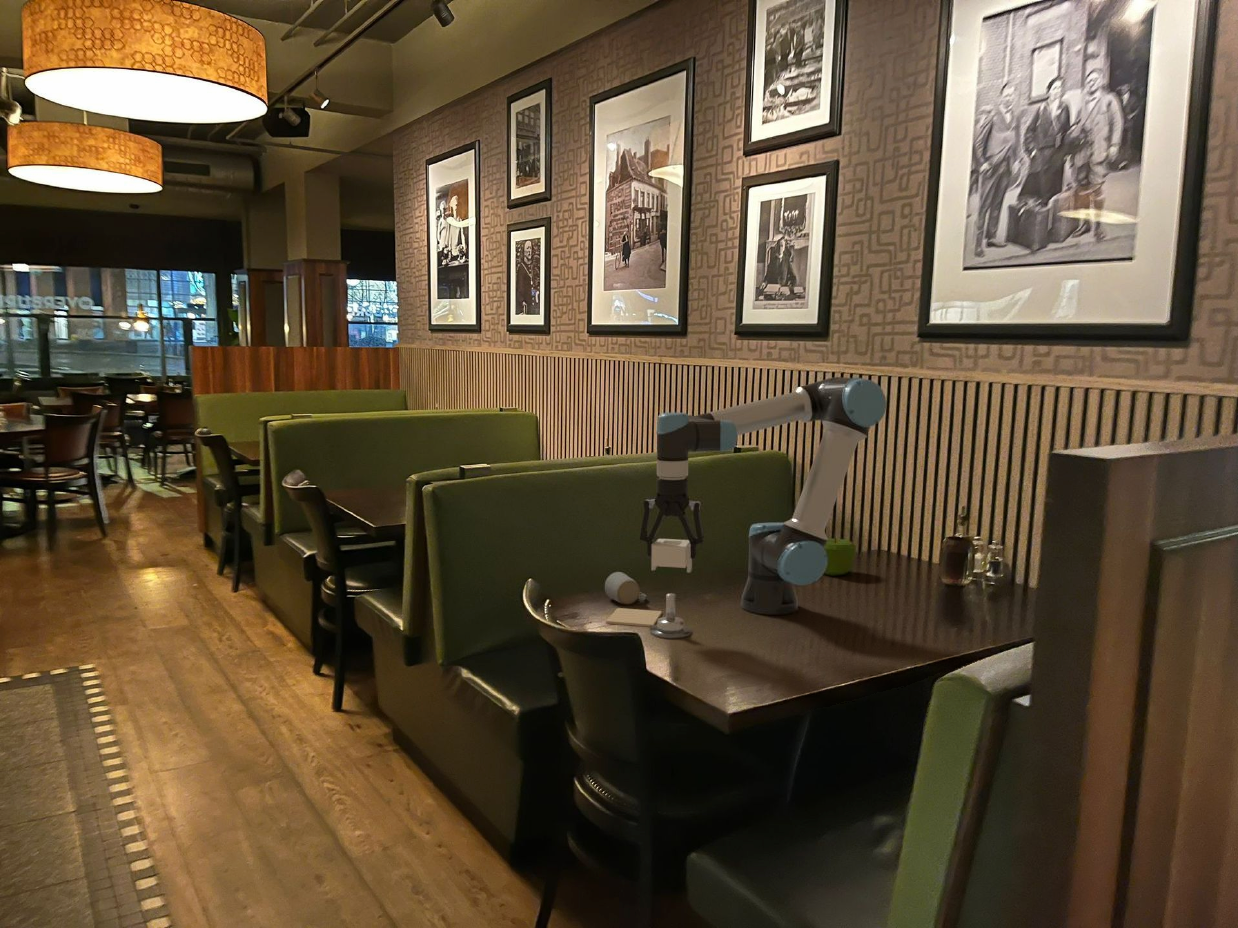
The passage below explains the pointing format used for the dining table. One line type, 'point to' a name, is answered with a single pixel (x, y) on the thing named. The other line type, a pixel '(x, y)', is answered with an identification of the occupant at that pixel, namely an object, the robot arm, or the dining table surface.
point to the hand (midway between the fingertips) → (671, 569)
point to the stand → (670, 623)
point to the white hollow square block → (670, 553)
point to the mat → (634, 617)
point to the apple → (839, 556)
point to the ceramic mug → (623, 589)
